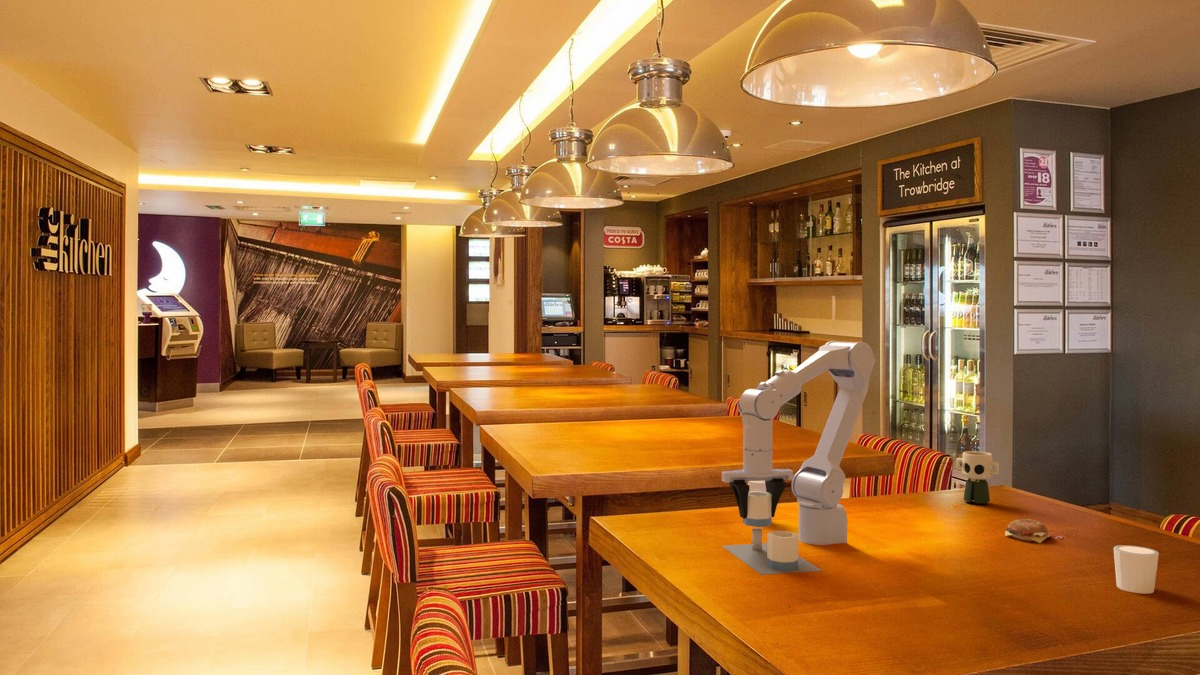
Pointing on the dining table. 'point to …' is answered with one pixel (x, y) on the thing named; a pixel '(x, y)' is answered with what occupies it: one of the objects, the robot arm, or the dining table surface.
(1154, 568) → the white cup
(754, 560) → the pin board
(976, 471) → the character mug
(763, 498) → the sleeve
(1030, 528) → the hamburger
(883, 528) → the dining table surface
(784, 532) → the seated sleeve
